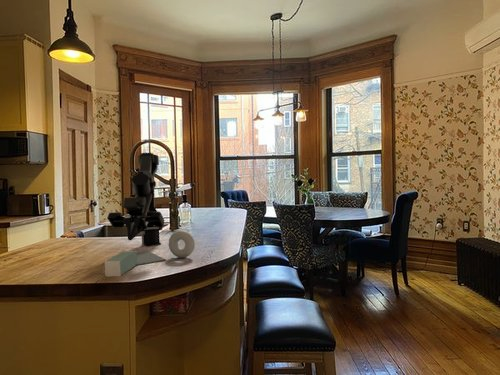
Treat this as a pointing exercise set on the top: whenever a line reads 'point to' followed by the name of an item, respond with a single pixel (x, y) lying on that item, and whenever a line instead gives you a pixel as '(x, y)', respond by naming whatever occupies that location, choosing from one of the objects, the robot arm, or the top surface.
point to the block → (120, 263)
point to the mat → (147, 258)
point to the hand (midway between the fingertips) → (129, 239)
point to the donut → (186, 238)
